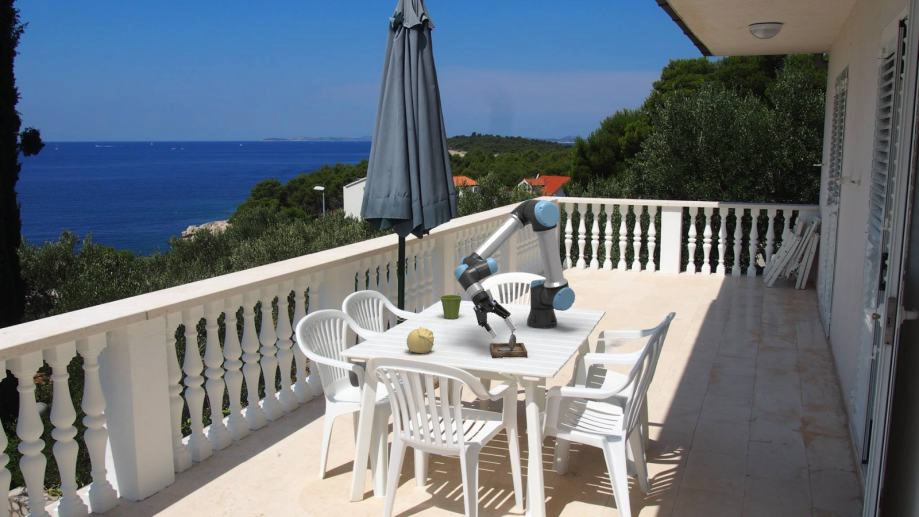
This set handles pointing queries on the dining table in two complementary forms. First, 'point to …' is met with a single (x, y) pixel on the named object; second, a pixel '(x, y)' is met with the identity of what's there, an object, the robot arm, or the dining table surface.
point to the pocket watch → (511, 346)
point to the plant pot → (451, 305)
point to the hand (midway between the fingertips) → (504, 333)
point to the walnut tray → (516, 352)
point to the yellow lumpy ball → (420, 340)
